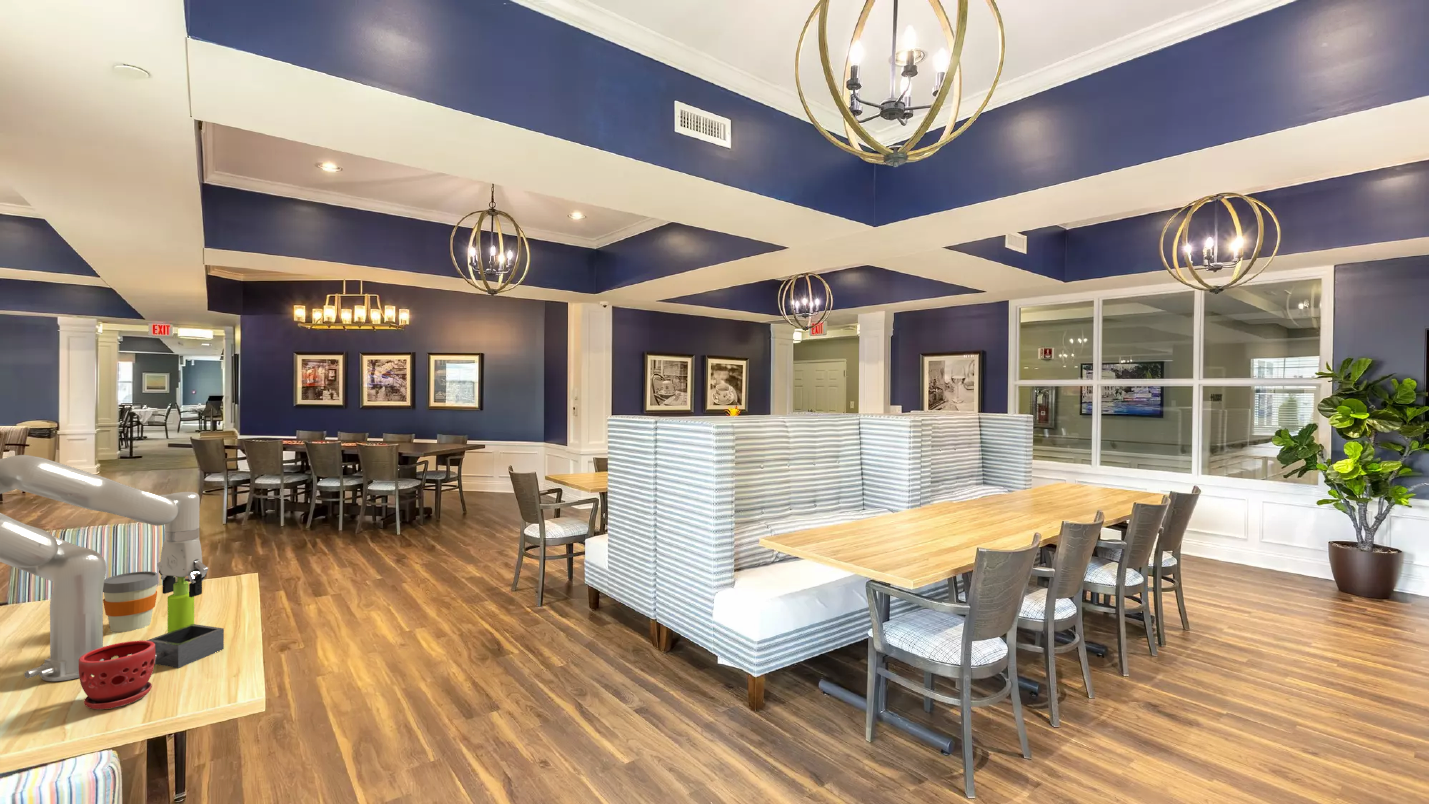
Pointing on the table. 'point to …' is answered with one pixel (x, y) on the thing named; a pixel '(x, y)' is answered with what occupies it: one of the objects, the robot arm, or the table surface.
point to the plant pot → (117, 674)
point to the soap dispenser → (180, 606)
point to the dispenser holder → (187, 645)
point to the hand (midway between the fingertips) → (182, 593)
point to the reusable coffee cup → (130, 600)
